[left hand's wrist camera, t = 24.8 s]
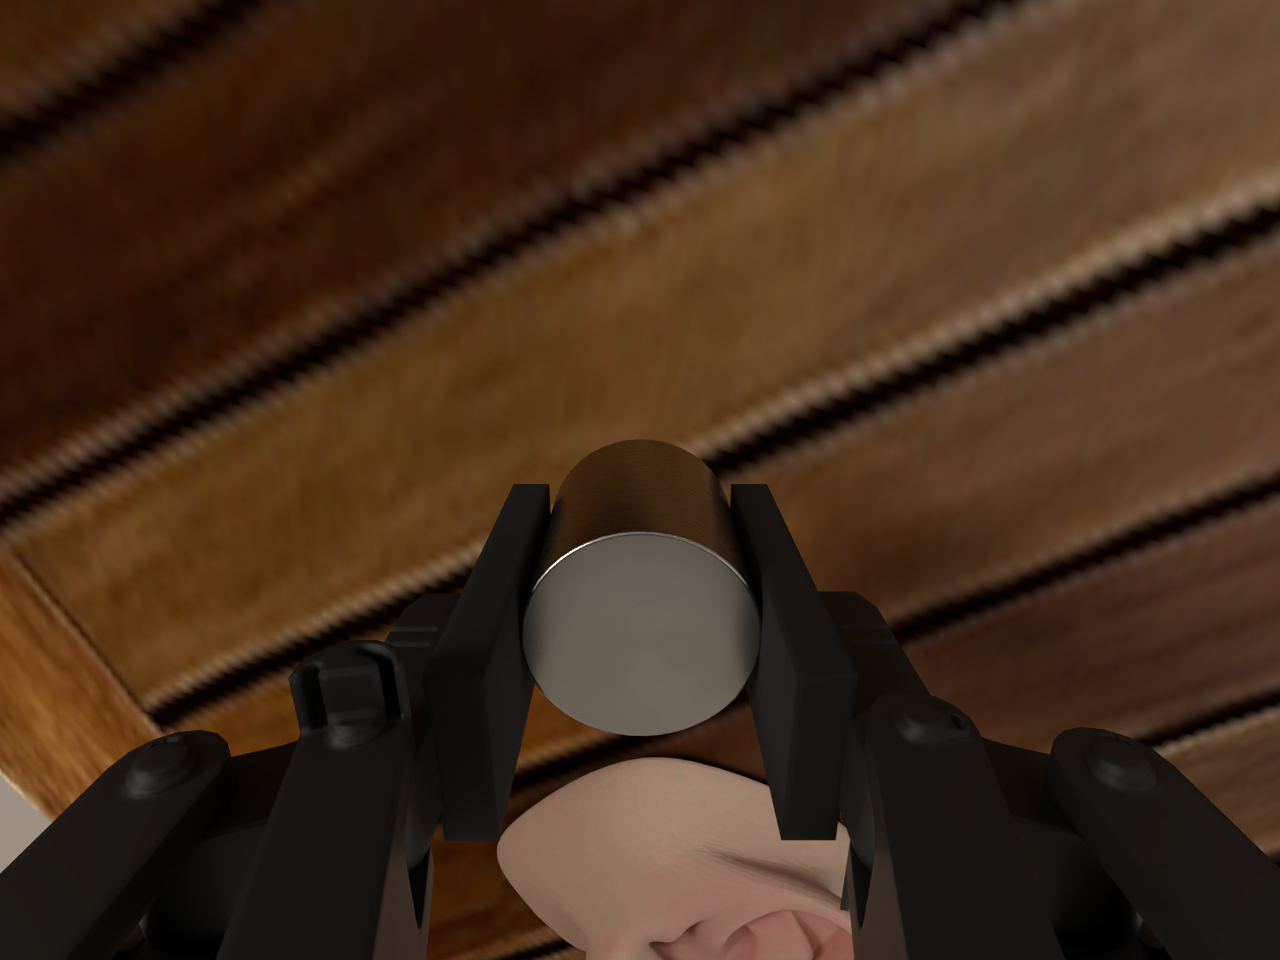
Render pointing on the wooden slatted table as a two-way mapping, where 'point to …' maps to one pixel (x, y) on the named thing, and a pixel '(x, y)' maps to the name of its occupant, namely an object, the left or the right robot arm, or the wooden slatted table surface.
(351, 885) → the left robot arm
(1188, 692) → the wooden slatted table surface
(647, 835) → the anatomical model
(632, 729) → the tin
